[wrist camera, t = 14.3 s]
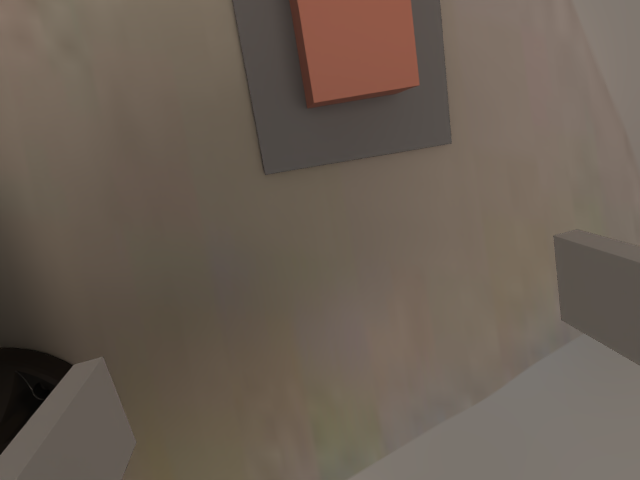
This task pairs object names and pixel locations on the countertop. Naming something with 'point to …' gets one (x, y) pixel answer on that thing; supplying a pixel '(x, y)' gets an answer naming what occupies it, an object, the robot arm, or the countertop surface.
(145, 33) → the countertop surface
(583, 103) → the countertop surface
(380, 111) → the rubber mat
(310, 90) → the card deck box
